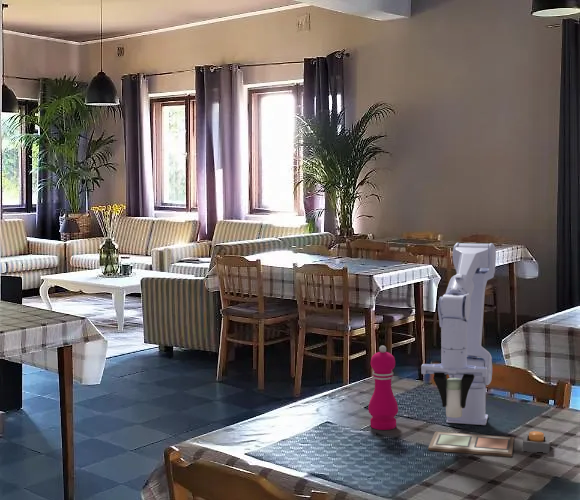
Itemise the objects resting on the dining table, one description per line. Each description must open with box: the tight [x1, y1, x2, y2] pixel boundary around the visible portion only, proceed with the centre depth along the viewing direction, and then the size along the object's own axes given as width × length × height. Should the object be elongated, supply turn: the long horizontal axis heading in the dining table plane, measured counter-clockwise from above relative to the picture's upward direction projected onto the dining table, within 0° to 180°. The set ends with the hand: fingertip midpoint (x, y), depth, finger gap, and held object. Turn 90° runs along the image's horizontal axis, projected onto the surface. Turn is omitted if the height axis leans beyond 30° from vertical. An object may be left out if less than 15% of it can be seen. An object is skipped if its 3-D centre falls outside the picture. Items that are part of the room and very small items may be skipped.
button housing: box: [522, 433, 551, 454], centre depth 191 cm, size 6×6×2 cm
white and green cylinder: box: [445, 378, 462, 418], centre depth 194 cm, size 4×4×8 cm
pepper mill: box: [368, 345, 399, 431], centre depth 208 cm, size 7×7×20 cm
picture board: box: [427, 430, 515, 458], centre depth 194 cm, size 18×12×1 cm, turn 73°
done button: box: [528, 430, 545, 442], centre depth 190 cm, size 3×3×2 cm
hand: (454, 406), depth 194 cm, fingers closed on white and green cylinder, 4 cm apart
